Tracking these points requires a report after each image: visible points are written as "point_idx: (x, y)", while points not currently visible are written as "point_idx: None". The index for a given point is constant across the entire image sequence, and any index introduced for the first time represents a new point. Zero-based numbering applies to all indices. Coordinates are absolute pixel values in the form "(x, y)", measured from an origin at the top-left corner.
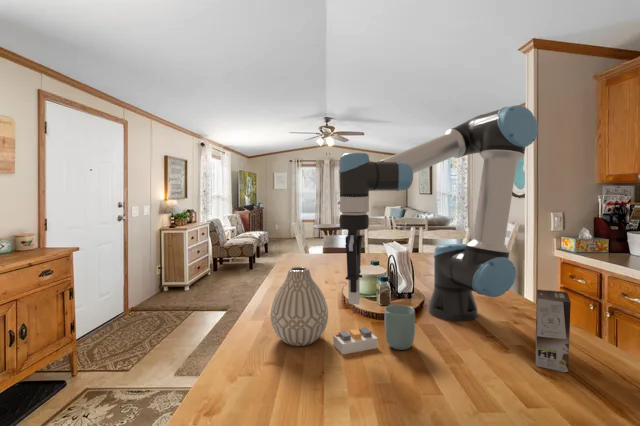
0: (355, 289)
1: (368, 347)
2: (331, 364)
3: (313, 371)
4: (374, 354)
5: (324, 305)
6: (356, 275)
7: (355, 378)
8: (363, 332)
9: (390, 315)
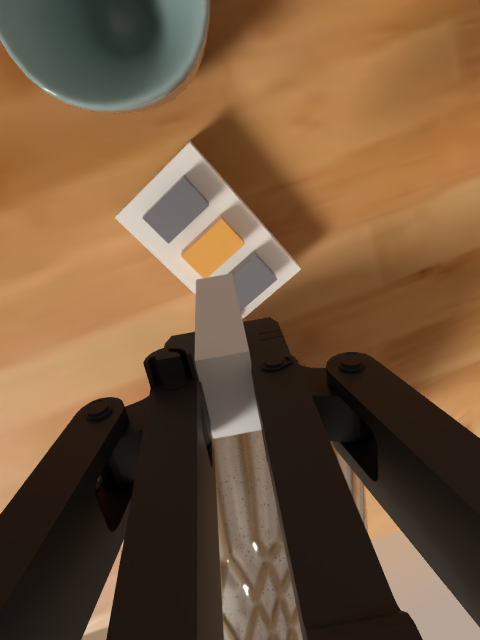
0: (280, 330)
1: (220, 175)
2: (370, 266)
3: (423, 299)
4: (253, 138)
5: (244, 435)
6: (388, 375)
7: (444, 159)
8: (199, 213)
9: (203, 48)
